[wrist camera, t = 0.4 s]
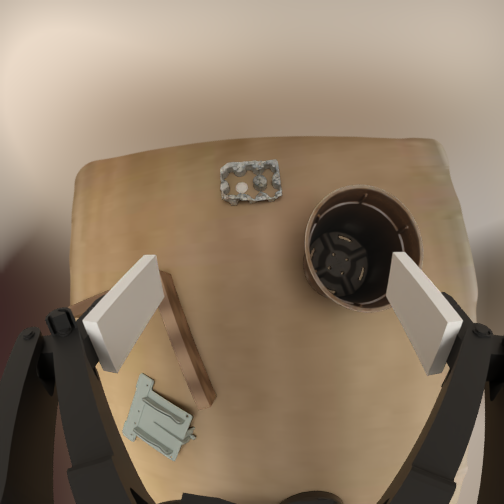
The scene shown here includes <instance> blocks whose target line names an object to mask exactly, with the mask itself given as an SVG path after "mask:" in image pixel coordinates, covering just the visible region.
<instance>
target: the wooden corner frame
mask: <svg viewBox="0 0 504 504" xmlns="http://www.w3.org/2000/svg"><path fill="white" fill-rule="evenodd" d="M159 273H160V278H161V283H162V288H163V293H164V298H163V300H162V301H161V303H160V305H159V306H158V307H159V310H160V313H161V316H162V319H163V322H164V325H165V328H166V331H167V333H168V336H169V339H170V341H171V344H172V347H173V349H174V352H175V355H176V357H177V360H178V362H179V365H180V367H181V370H182V372H183V375H184V377H185V380H186V382H187V385H188V387H189V389H190V392H191V394H192V396H193V399H194V401H195V403H196V405H197V408H198V410H202V409H205V408H209V407H211V405H212V403H213V401H214V400H215V398H216V394H215V392H214V390H213V387H212V385H211V382H210V380H209V378H208V375H207V373H206V370H205V368H204V365H203V363H202V360H201V358H200V355H199V353H198V350H197V348H196V345H195V342H194V340H193V337H192V335H191V332H190V329H189V326H188V324H187V321H186V318H185V315H184V313H183V310H182V307H181V304H180V301H179V298H178V295H177V292H176V290H175V287H174V284H173V280H172V277H171V274H168V273H166V272H163V271H160V270H159ZM110 290H111V289H110ZM110 290H108V291H105V292H103V293H101V294H98V295H96V296H93V297H91V298H88V299H86V300H84V301H81V302H79V303H76V304H74V305H71V306H69V307H68V308H69V309H71V311H72V313H73V316H74V318H80V316H81V315H82V314H83V313H84V312H85V311H87V309H88V308H89V307H90V306H91V304H92V303H93V302H94V301H95V300H96V299H98V298H99V297H101V296H103V295H106V294H107V293H108V292H109V291H110Z"/></svg>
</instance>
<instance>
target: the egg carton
mask: <svg viewBox="0 0 504 504" xmlns="http://www.w3.org/2000/svg"><path fill="white" fill-rule="evenodd" d="M266 168H270V170H271V171H272V172H273V173H274V176H273V177H272V186H273V187H274V188H275V189H278V190H280V191H277V192H276V193H275V197H272V198H271V197H269V196H268V195H267V194H266V193H263V192H259V194H258V195H257V196H256V198H255V199H252V198H251V197H250V196H249V195H246V194H241V193H245V192H246V191H247V190H248V185H247V184H246V183H244V182H240V183H238V184H237V185H236V191H237V192H238V193H240V194H238V195H227V194H228V193H229V191H230V188H229V184H228V182H227V181H225V180H223V179H225V178H226V177H227V176H228V173H230V172H234V174H235V175H236V176H237V177H242V176H244V175H245V174H246V171H247V170H252V171H253V173H254V174H256V175H257V176H255V177H254V179H253V183H254V188H255V190H257V191H264V190H265V189H266V186H267V180H266V178H265V177H264V176H263V175H261V174H262V173H263V172H264V170H265V169H266ZM220 172H221V191H222V200H223V199H224V201H228V202H229V203H230V204H231V205H232V206H234V205H237V203H238V201H239V200H248V201H249V202H250V204H251V203H255V202H256V201H260V200H266V199H268V201H269V202H272V201H274V200H275V198H278V196H282V189H281V182H280V174H279V167H278V162H277V160H267V161H247V162H230V163H227V164H226V165H224V166H223V167H222V168H221V170H220Z"/></svg>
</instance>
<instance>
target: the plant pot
mask: <svg viewBox="0 0 504 504" xmlns="http://www.w3.org/2000/svg"><path fill="white" fill-rule="evenodd" d="M339 235H340V236H344V237H347V238H349V239H350V240H352V242H348V241H346V240H344V239H340V238H339V237H338V236H339ZM313 248H315V252H314V254H313V257H312V261H311V256H310V254H311V251H312V249H313ZM393 252H405V253H406V254H407V255H408V256H409V257H410V258H411V259H412V260H413V261H414V262H415V264H416V265H417V266H418V267H419V268H420V269H422V264H423V243H422V238H421V234H420V230H419V228H418V225H417V223H416V221H415V219H414V217H413V216H412V214H411V213H410V211H409V210H408V209H407V208H406V206H405V205H404V204H403V203H402V202H401V201H400V200H398V199H397V198H396V197H395V196H393V195H392V194H390V193H388V192H387V191H385V190H382V189H380V188H377V187H373V186H369V185H350V186H346V187H343V188H340V189H337V190H335V191H333V192H332V193H330V194H329V195H327V196H326V197H325V198H324V199H323V200H322V201H321V202H320V203H319V204H318V205H317V206H316V208H315V209H314V211H313V213H312V214H311V217H310V219H309V222H308V224H307V228H306V233H305V255H304V262H303V265H304V273H305V275H306V278H307V280H308V282H309V284H310V285H311V287H312V288H313V289H314V290H315V291H316V292H318V293H319V294H321V295H323V296H325V297H327V298H330V299H331V300H333V301H334V302H336V303H337V304H339V305H341V306H343V307H346V308H348V309H351V310H354V311H359V312H379V311H383V310H386V309H389V308H391V307H392V306H391V304H390V302H389V301H388V299H387V297H386V292H387V286H388V280H389V274H390V268H391V261H392V254H393ZM332 253H335V254H336V255H335V256H333V255H332ZM346 258H348V259H349V260H348V261H346V260H345V259H346ZM328 266H331V269H330V270H328ZM362 267H364V274H363V277H362V279H361V281H360V280H359V277H360V274H361V271H362ZM341 271H343V272H344V274H343V275H341ZM328 289H330V290H334V291H336V293H335V294H332V293H331V292H329V291H328Z"/></svg>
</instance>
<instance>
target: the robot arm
mask: <svg viewBox="0 0 504 504" xmlns="http://www.w3.org/2000/svg"><path fill="white" fill-rule="evenodd" d="M386 297H387V299H388V301H389V302H390V304H391V306H392V308H393V310H394V311H395V313H396V315H397V317H398V319H399V321H400V323H401V324H402V326H403V328H404V330H405V332H406V334H407V336H408V338H409V340H410V342H411V344H412V346H413V348H414V350H415V352H416V354H417V356H418V358H419V360H420V362H421V364H422V366H423V368H424V370H425V372H426V374H427V376H428V375H433V374H439V373H442V371H443V369H444V367H445V364H446V362H447V364H448V366H449V368H450V369H449V372H448V374H447V376H446V378H445V380H444V382H443V384H442V386H441V387H442V389H441V391H440V393H439V396H438V398H437V400H436V403H435V405H434V407H433V409H432V411H431V414H430V416H429V418H428V420H427V422H426V424H425V426H424V428H423V430H422V432H421V434H420V436H419V438H418V439H417V441H416V443H415V445H414V447H413V449H412V450H411V452H410V454H409V456H408V457H407V459H406V461H405V462H404V464H403V466H402V467H401V469H400V471H399V472H398V474H397V475H396V477H395V478H394V480H393V481H392V483H391V484H390V486H389V487H388V489H387V490H386V492H385V493H384V495H383V496H382V497H381V499H380V500H379V501H378V502H377V504H449V502H450V500H451V498H452V496H453V494H454V491H455V489H456V483H455V482H454V478H455V475H456V473H457V471H458V468H459V466H460V464H461V461H462V459H463V456H464V453H465V451H466V448H467V445H468V443H469V440H470V437H471V434H472V431H473V428H474V424H475V421H476V418H477V414H478V410H479V407H480V403H481V399H482V395H483V391H484V390H485V442H484V456H483V466H482V475H481V483H480V490H479V495H478V501H477V504H504V336H498V335H493V333H492V331H491V330H490V329H489V328H488V327H487V326H485V325H483V324H479V323H473V322H472V321H471V319H470V318H469V317H468V316H467V314H466V313H465V312H464V311H463V310H462V309H461V307H460V306H459V305H458V304H457V302H456V301H455V300H454V299H453V298H452V297H451V296H450V295H448V294H446V293H445V292H440V291H439V290H438V289H437V288H436V286H435V285H434V284H433V283H432V282H431V281H430V279H429V278H428V277H427V276H426V275H425V274H424V273H423V271H422V270H421V269H420V268H419V267H418V266H417V265H416V264H415V262H414V261H413V260H412V259H411V258H410V257H409V256H408V255H407V254H406V253H405V252H393V254H392V261H391V268H390V274H389V280H388V286H387V292H386ZM163 298H164V293H163V288H162V283H161V278H160V273H159V268H158V263H157V257H156V255H144V256H143V257H142V258H141V259H140V260H139V261H138V262H137V263H136V264H135V265H134V266H133V267H132V268H131V269H130V270H129V271H128V272H127V273H126V274H125V275H124V276H123V277H122V278H121V279H120V280H119V281H118V282H117V283H116V284H115V285H114V286H113V287H112V289H111V290H110V291H109V292H108V293H107V294H106V295H103V296H101V297H99V298H98V299H96V300H95V301H94V302H93V303H92V304H91V306H90V307H89V308H88V309H87V311H85V312H84V313H83V314H82V315H81V316H80V318H79V319H78V320H77V321H75V318H74V316H73V313H72V311H71V309H69V308H58V309H56V310H53V311H52V312H50V313H49V314H48V315H47V316H46V319H45V321H46V323H47V325H48V328H49V330H50V332H51V334H52V335H49V336H42V333H41V331H40V329H39V328H37V327H30V328H26V329H24V330H23V331H22V332H21V333H20V334H19V336H18V338H17V340H16V342H15V345H14V347H13V350H12V352H11V355H10V357H9V360H8V362H7V365H6V367H5V370H4V374H3V376H2V379H1V381H0V504H54V500H53V454H54V437H55V425H56V415H57V406H58V402H59V408H60V414H61V419H62V425H63V430H64V434H65V439H66V443H67V447H68V452H69V455H70V459H71V463H72V468H69V469H68V470H67V475H68V480H69V483H70V486H71V490H72V493H73V496H74V499H75V502H76V504H156V503H155V502H154V501H153V499H152V498H151V496H150V495H149V494H148V492H147V491H146V489H145V487H144V485H143V483H142V481H141V480H140V478H139V476H138V474H137V472H136V469H135V467H134V465H133V463H132V461H131V459H130V457H129V455H128V452H127V450H126V448H125V446H124V443H123V441H122V438H121V436H120V434H119V431H118V429H117V426H116V424H115V421H114V418H113V416H112V413H111V410H110V408H109V405H108V402H107V399H106V396H105V393H104V390H103V387H102V384H101V381H100V377H99V374H98V371H97V369H96V367H95V366H96V365H97V363H98V362H100V364H101V366H102V368H103V370H104V371H108V372H114V373H118V371H119V370H120V368H121V366H122V365H123V363H124V361H125V360H126V358H127V356H128V355H129V353H130V351H131V350H132V348H133V346H134V345H135V343H136V341H137V340H138V338H139V336H140V335H141V333H142V332H143V330H144V328H145V327H146V325H147V324H148V322H149V320H150V319H151V317H152V316H153V314H154V312H155V311H156V309H157V308H158V306H159V305H160V303H161V301H162V300H163ZM159 504H235V503H232V502H229V501H226V500H223V499H220V498H214V497H207V496H200V495H194V494H188V493H183V495H182V499H181V500H173V501H167V502H162V503H159ZM280 504H343V502H342V500H341V499H340V498H339V497H337V496H336V495H334V494H331V493H328V492H321V491H312V492H305V493H300V494H297V495H294V496H292V497H289V498H287V499H286V500H284V501H282V502H281V503H280Z"/></svg>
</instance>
